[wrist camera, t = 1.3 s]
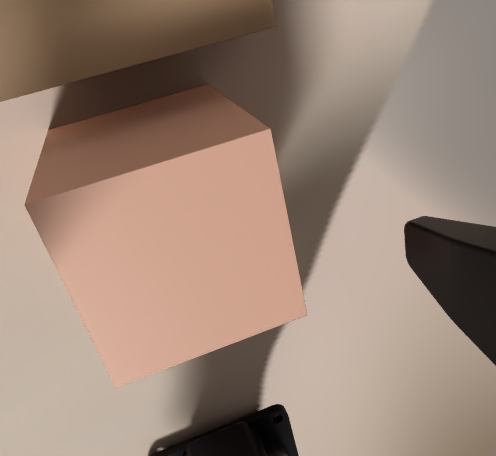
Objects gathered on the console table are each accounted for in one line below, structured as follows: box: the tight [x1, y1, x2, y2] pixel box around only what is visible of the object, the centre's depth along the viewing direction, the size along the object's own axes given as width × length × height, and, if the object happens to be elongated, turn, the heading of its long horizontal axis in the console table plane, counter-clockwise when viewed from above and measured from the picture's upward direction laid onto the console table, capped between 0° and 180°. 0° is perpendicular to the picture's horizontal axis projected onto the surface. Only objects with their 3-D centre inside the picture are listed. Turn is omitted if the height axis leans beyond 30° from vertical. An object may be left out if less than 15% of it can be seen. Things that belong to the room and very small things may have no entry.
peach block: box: [25, 84, 307, 388], centre depth 13 cm, size 5×5×6 cm
